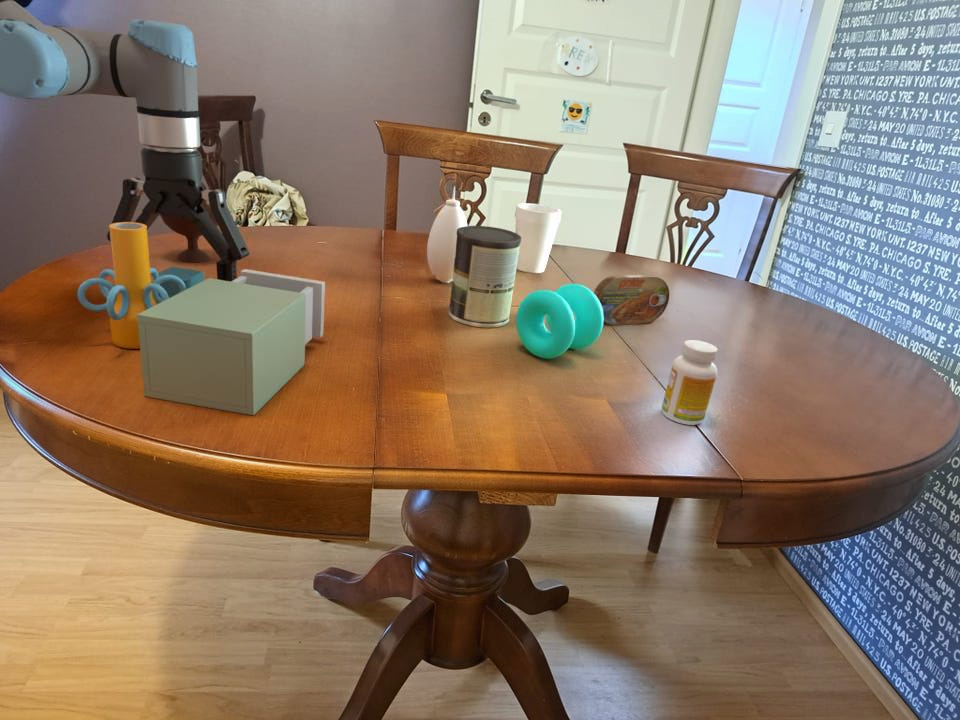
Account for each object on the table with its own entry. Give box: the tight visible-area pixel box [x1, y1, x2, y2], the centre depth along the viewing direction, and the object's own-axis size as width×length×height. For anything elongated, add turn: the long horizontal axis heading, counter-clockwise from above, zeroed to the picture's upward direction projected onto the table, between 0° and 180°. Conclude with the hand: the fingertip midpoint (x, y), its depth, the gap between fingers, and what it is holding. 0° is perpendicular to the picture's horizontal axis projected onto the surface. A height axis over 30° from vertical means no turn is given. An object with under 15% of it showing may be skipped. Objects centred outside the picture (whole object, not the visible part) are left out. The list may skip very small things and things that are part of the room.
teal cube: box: [158, 266, 205, 299], centre depth 98 cm, size 5×5×5 cm
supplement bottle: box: [661, 339, 718, 426], centre depth 83 cm, size 5×5×10 cm
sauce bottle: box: [426, 185, 468, 284], centre depth 123 cm, size 8×8×18 cm
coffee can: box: [448, 225, 522, 329], centre depth 107 cm, size 10×10×14 cm
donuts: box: [515, 283, 605, 360], centre depth 98 cm, size 10×10×10 cm
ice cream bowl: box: [159, 181, 219, 264], centre depth 118 cm, size 11×11×15 cm
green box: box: [137, 277, 306, 416], centre depth 77 cm, size 15×13×10 cm
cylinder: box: [76, 221, 186, 350], centre depth 83 cm, size 12×10×15 cm
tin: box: [593, 274, 670, 326], centre depth 115 cm, size 15×3×8 cm, turn 114°
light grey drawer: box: [231, 268, 326, 346], centre depth 88 cm, size 20×11×8 cm, turn 172°
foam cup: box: [514, 202, 562, 274], centre depth 140 cm, size 10×9×13 cm
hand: (182, 296), depth 98 cm, fingers open, 13 cm apart
